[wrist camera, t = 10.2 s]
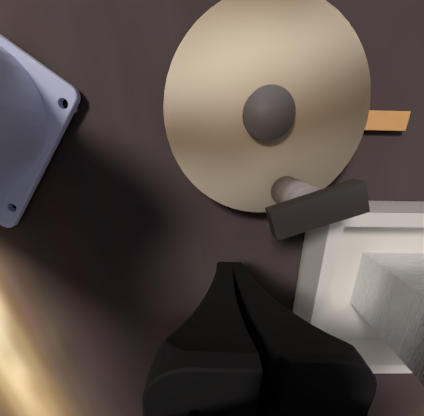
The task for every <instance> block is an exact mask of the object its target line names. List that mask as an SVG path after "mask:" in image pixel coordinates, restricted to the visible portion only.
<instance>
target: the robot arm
mask: <svg viewBox="0 0 424 416" xmlns="http://www.w3.org/2000/svg"><path fill="white" fill-rule="evenodd" d="M65 99H66V100H67V102H68V107H67V108H66V109H65V108H64V107H63V101H64V100H65ZM80 100H81V96H80V93H79V91H78V90H77V89H76V88H75V87H74V86H72V85H71V84H70V83H68V82H67V81H65V80H64V79H63V78H61V77H60V76H58V75H57V74H56V73H54V72H53V71H51V70H50V69H49V68H47V67H46V66H45V65H43V64H42V63H40V62H39V61H38V60H36V59H35V58H33V57H32V56H31V55H29V54H28V53H26V52H25V51H24V50H22V49H21V48H19V47H18V46H17V45H15V44H14V43H12V42H11V41H10V40H8V39H7V38H5V37H4V36H3V35H1V34H0V225H1V226H3V227H6V228H11V227H13V226H15V225H17V224H18V223H19V221H20V219H21V217H22V215H23V213H24V211H25V209H26V207H27V205H28V203H29V201H30V199H31V197H32V195H33V193H34V191H35V190H36V188H37V186H38V184H39V182H40V180H41V178H42V176H43V174H44V172H45V170H46V168H47V166H48V164H49V162H50V160H51V158H52V156H53V154H54V152H55V150H56V148H57V146H58V144H59V142H60V140H61V138H62V136H63V134H64V133H65V131H66V129H67V127H68V125H69V123H70V121H71V119H72V117H73V115H74V113H75V111H76V109H77V107H78V105H79V103H80ZM13 204H14V205H15V206H16V208H17V209H15V208H14V207H13ZM376 387H377V382H376V377H375V375H374V374H373V372H372V371H371V369H370V368H369V366H368V365H367V363H366V362H365V361H364V359H363V358H362V356H361V355H360V354H359V352H358V351H357V350H356V349H355V347H354V346H353V345H351V344H349V343H347V342H345V341H343V340H341V339H339V338H336V337H334V336H332V335H330V334H328V333H326V332H324V331H323V330H321V329H319V328H317V327H315V326H314V325H312V324H310V323H308V322H307V321H305V320H304V319H302V318H301V317H299V316H298V315H296V314H295V313H293V312H292V311H290V310H289V309H287V308H286V307H285V306H283V305H282V304H281V303H280V302H278V301H277V300H276V299H275V298H274V297H272V296H271V295H270V294H269V293H268V292H267V291H266V290H265V289H264V288H263V287H262V286H261V285H260V284H259V283H258V282H257V281H256V280H255V279H254V278H253V276H252V275H251V274H250V273H249V272H248V271H247V269H246V268H245V267H244V266H243V265H242V263H236V262H218V263H217V269H216V274H215V277H214V279H213V282H212V284H211V286H210V288H209V290H208V292H207V294H206V295H205V297H204V299H203V300H202V302H201V303H200V305H199V306H198V307H197V309H196V310H195V311H194V312H193V314H192V315H191V316H190V317H189V318H188V319H187V320H186V321H185V322H184V323H183V324H182V326H181V327H180V328H178V329H177V330H176V331H175V332H174V333H173V334H171V335H170V336H169V337H168V338H167V339H166V340H164V341H163V343H162V345H161V347H160V349H159V351H158V353H157V355H156V357H155V359H154V361H153V364H152V366H151V369H150V372H149V374H148V377H147V381H146V385H145V389H144V394H143V416H367V413H368V411H369V408H370V406H371V403H372V401H373V398H374V396H375V392H376Z"/></svg>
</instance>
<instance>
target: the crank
mask: <svg viewBox="0 0 424 416" xmlns="http://www.w3.org/2000/svg"><path fill="white" fill-rule="evenodd" d="M370 98H371V83H370V73H369V67H368V62H367V59H366V56H365V52H364V49H363V47H362V44H361V42H360V40H359V38H358V36H357V34H356V32H355V31H354V29H353V28H352V26H351V25H350V23H349V22H348V21H347V20H346V18H345V17H344V16H343V15H342V14H341V13H340V12H339V11H338V10H337V9H336V8H335V7H333V6H332V5H331V4H330V3H329V2H327V1H326V0H222V1H220V2H219V3H217V4H216V5H214V6H213V7H212V8H210V9H209V10H208V11H207V12H206V13H205V14H204V15H202V16H201V17H200V18H199V19H198V20H197V21H196V23H195V24H194V25H193V26H192V27H191V29H190V30H189V31H188V32H187V34H186V35H185V37H184V39H183V40H182V42H181V44H180V45H179V47H178V49H177V51H176V53H175V56H174V58H173V60H172V62H171V66H170V69H169V72H168V75H167V80H166V85H165V91H164V105H163V109H164V123H165V128H166V134H167V138H168V141H169V144H170V147H171V150H172V152H173V155H174V157H175V159H176V161H177V163H178V164H179V166H180V168H181V169H182V171H183V173H184V174H185V175H186V176H187V177H188V179H189V180H190V181H191V182H192V183H193V184H194V185H195V186H196V187H197V188H198V189H199V190H200V191H201V192H203V193H204V194H205V195H207V196H208V197H209V198H211V199H213V200H215V201H216V202H218V203H220V204H222V205H225V206H227V207H230V208H233V209H237V210H241V211H247V212H266V214H267V218H268V221H269V225H270V228H271V232H272V234H273V236H274V237H275V239H276V240H277V241H278V240H282V239H285V238H288V237H291V236H294V235H298V234H301V233H304V232H307V231H310V230H314V229H317V228H320V227H323V226H326V225H330V224H333V223H336V222H339V221H342V220H346V219H349V218H352V217H355V216H358V215H362V214H365V213H368V212H370V208H369V201H368V193H367V185H366V182H364V181H360V180H356V179H351V180H348V181H345V182H342V183H339V184H336V185H333V186H330V187H327V186H328V185H329V184H330V183H332V182H333V181H334V180H335V178H336V177H337V176H338V175H339V174H340V173H341V172H342V171H343V169H344V168H345V167H346V165H347V164H348V163H349V161H350V160H351V158H352V156H353V154H354V153H355V151H356V149H357V147H358V145H359V143H360V140H361V138H362V136H363V133H364V130H365V126H366V123H367V119H368V114H369V109H370ZM326 187H327V188H326Z"/></svg>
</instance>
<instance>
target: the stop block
mask: <svg viewBox="0 0 424 416" xmlns="http://www.w3.org/2000/svg"><path fill="white" fill-rule="evenodd" d="M350 303H351V304H352V305H353V306H354V308H355V309H356V310H357V311H358V312H359V313H360V314H361V315H362V317H363V318H364V319H365V320H366V321H367V322H368V323H369V324H370V326H371V327H372V328H373V329H374V330H375V331H376V332H377V333H378V335H379V336H380V337H381V338H382V339H383V340H384V341H385V342H386V344H387V345H388V346H389V347H390V348H391V349H392V350H393V351H394V353H395V354H396V355H397V356H398V357H399V358H400V359H401V361H402V362H403V363H404V364H405V365H406V366H407V367H408V368H409V370H410V371H411V372H412V373H413V374H414V375H415V376H416V377H417V379H418V380H419V381H420V382H421V383H422V384H423V385H424V254H422V253H373V252H363V254H362V258H361V261H360V265H359V269H358V273H357V277H356V281H355V284H354V288H353V292H352V296H351V300H350Z"/></svg>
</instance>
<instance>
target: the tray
mask: <svg viewBox="0 0 424 416" xmlns="http://www.w3.org/2000/svg"><path fill="white" fill-rule="evenodd" d="M369 208H370V212H368V213H365V214H362V215H358V216H355V217H352V218H349V219H346V220H342V221H339V222H336V223H333V224H330V225H326V226H323V227H320V228H317V229H314V230H310V231H307V232H305V236H304V242H303V249H302V255H301V261H300V267H299V274H298V280H297V286H296V292H295V299H294V305H293V311H292V312H293V313H295V314H296V315H298V316H299V317H301V318H302V319H304V320H305V321H307V322H308V323H310V324H312V325H314V326H315V327H317V328H319V329H321V330H323V331H324V332H326V333H328V334H330V335H332V336H334V337H336V338H339V339H341V340H343V341H345V342H347V343H349V344H351V345H353V346H354V347H355V349H356V350H357V351H358V352H359V354H360V355H361V356H362V358H363V359H364V361H365V362H366V363H367V365H368V366H369V368H370V369H371V371H372V372H373V373H412V372H411V371H410V370H409V368H408V367H407V366H406V365H405V364H404V363H403V362H402V361H401V359H400V358H399V357H398V356H397V355H396V354H395V353H394V351H393V350H392V349H391V348H390V347H389V346H388V345H387V344H386V342H385V341H384V340H383V339H382V338H381V337H380V336H379V335H378V333H377V332H376V331H375V330H374V329H373V328H372V327H371V326H370V324H369V323H368V322H367V321H366V320H365V319H364V318H363V317H362V315H361V314H360V313H359V312H358V311H357V310H356V309H355V308H354V306H353V305H352V304H351V303H350V300H351V296H352V292H353V288H354V284H355V281H356V277H357V273H358V269H359V265H360V261H361V258H362V254H363V252H373V253H422V254H424V201H369Z"/></svg>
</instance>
